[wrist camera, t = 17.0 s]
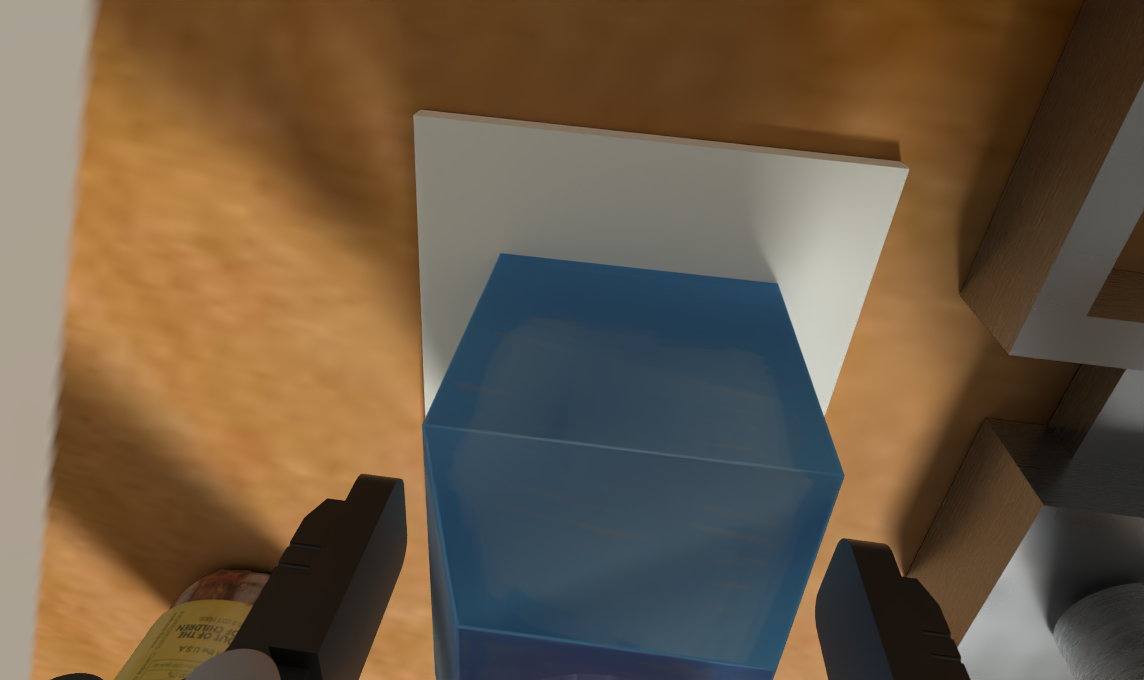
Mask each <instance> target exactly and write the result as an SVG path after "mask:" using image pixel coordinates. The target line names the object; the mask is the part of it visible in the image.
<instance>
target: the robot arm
mask: <svg viewBox="0 0 1144 680" xmlns="http://www.w3.org/2000/svg"><path fill="white" fill-rule="evenodd" d="M406 546H407V525H406V510H405V494H404V483H403V480H402V479H398V478H391V477H383V476H376V475H368V474H361V475H360V476H359V477H358V478H357V480H356V481H355V483H354V485H353V487H352V489H351V491H350V493H349V495H348V496H347V498H346V500H345V501H342V500H335V499H326V500H325V501H324V502H323V503H321V504H320V505H319V506H318V507H317V508H315V509H314V510H313V511H312V512H311V513H309V514H308V515H307V516H306V517H305V518H304V519H303V521H302V522H301V524H300V526H299V528H298V529H297V531H296V533H295V534H294V536H293V538H292V540H291V541H290V546H289V547H287V548H286V550H285V552H284V553H283V555H282V557H281V559H280V560H279V564H278V567H275V569H274V571H273V572H272V574H271V576H270V577H269V579H268V581H267V583H266V584H265V586H264V588H263V589H262V591H261V593H260V595H259V596H258V598H257V600H256V601H255V603H254V605H253V607H252V608H251V610H250V612H249V613H248V615H247V617H246V619H245V620H244V622H243V624H242V625H241V627H240V629H239V631H238V632H237V634H236V636H235V637H234V639H233V641H232V642H231V644H230V645H229V647H228V648H227V649H226V650H225V651H224V652H223V653H220V654H218V655H216V656H214V657H212V658H210V659H208V660H207V661H205V662H203V663H202V664H201V665H199V666H198V667H197V668H196V669H194V670H193V671H192V672H191V673H190V674H189V675H188V677H187V678H184V679H181V680H359V677H360V675H361V672H362V669H363V667H364V664H365V662H366V659H367V656H368V654H369V651H370V649H371V646H372V644H373V641H374V638H375V636H376V633H377V631H378V628H379V625H380V623H381V620H382V618H383V615H384V613H385V610H386V607H387V605H388V602H389V600H390V597H391V594H392V592H393V589H394V587H395V584H396V582H397V579H398V576H399V574H400V571H401V568H402V565H403V561H404V557H405V552H406ZM815 620H816V628H817V633H818V637H819V641H820V646H821V650H822V654H823V658H824V663H825V667H826V671H827V676H828V680H971V679H970V677H969V675H968V672H967V670H966V667H965V665H964V663H961V655H960V653H959V651H958V648H957V646H956V644H955V641H954V639H951V632H950V629H949V627H948V624H947V622H946V620H945V617H944V615H943V612H942V610H941V608H940V605H939V604H938V603H937V602H936V600H935V599H934V598H933V597H932V596H931V595H930V593H929V592H928V591H927V590H926V589H925V587H924V586H923V585H922V584H921V583H920V582H919V580H918V579H917V578H909V577H902V576H901V574H900V571H899V568H898V566H897V563H896V561H895V558H894V555H893V553H892V551H891V549H890V547H889V546H888V545H886V544H883V543H875V542H867V541H860V540H852V539H844V538H843V539H841V540H840V541H839V543H838V545H837V547H836V549H835V552H834V554H833V557H832V559H831V561H830V564H829V566H828V569H827V571H826V574H825V576H824V579H823V581H822V584H821V586H820V589H819V591H818V594H817V598H816V606H815ZM51 680H103V679H101V678H100V677H98V676H95V675H92V674H87V673H74V674H67V675H63V676H59V677H56V678H53V679H51Z"/></svg>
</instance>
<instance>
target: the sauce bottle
mask: <svg viewBox="0 0 1144 680" xmlns="http://www.w3.org/2000/svg"><path fill="white" fill-rule="evenodd" d="M270 576H271V575H269V574H266V573H256V572H252V571H250V570H246V569H245V570H225V569H221V570H219V571H217V572H215V573H212V574H210V575H207V576H204V577H202V578H200V579H199V580H198V581H197V582H195V583H194V584H192V585H191V586H190V587H189V588H187V589H186V590H185V591H184V592H183V593H182V594H181V595H180V596H179V597H178V598H177V599H176V600H175V601H174V602H173V603H172V605H171V607H170V609H169V610H168V611H167V612H165V613H164V614H163V615H162V616H161V617H160V618H159V619H158V620H157V621H156V622H155V623H154V624H153V626H152V627H151V628H150V630H149V631H148V633H147V634H146V636H145V637H144V638H143V640H142V641H141V643H140V644H139V646H138V647H137V648H136V650H135V651H134V653H133V654H132V655H131V657H130V658H129V660H128V661H127V662H126V664H125V665H124V667H123V668H122V669H121V671H120V672H119V673H118V675H117V676H116V677H115V679H114V680H181V679H184V678H187V677H188V675H189V674H190V673H191V672H192V671H193V670H194V669H196V668H197V667H198V666H199V665H201V664H202V663H203V662H205V661H207V660H208V659H210V658H212V657H214V656H216V655H218V654H220V653H223V652H224V651H225V650H226V649H227V648H228V647H229V645H230V644H231V642H232V641H233V639H234V637H235V636H236V634H237V632H238V631H239V629H240V627H241V625H242V624H243V622H244V620H245V619H246V617H247V615H248V613H249V612H250V610H251V608H252V607H253V605H254V603H255V601H256V600H257V598H258V596H259V595H260V593H261V591H262V589H263V588H264V586H265V584H266V583H267V581H268V579H269V577H270Z"/></svg>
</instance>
